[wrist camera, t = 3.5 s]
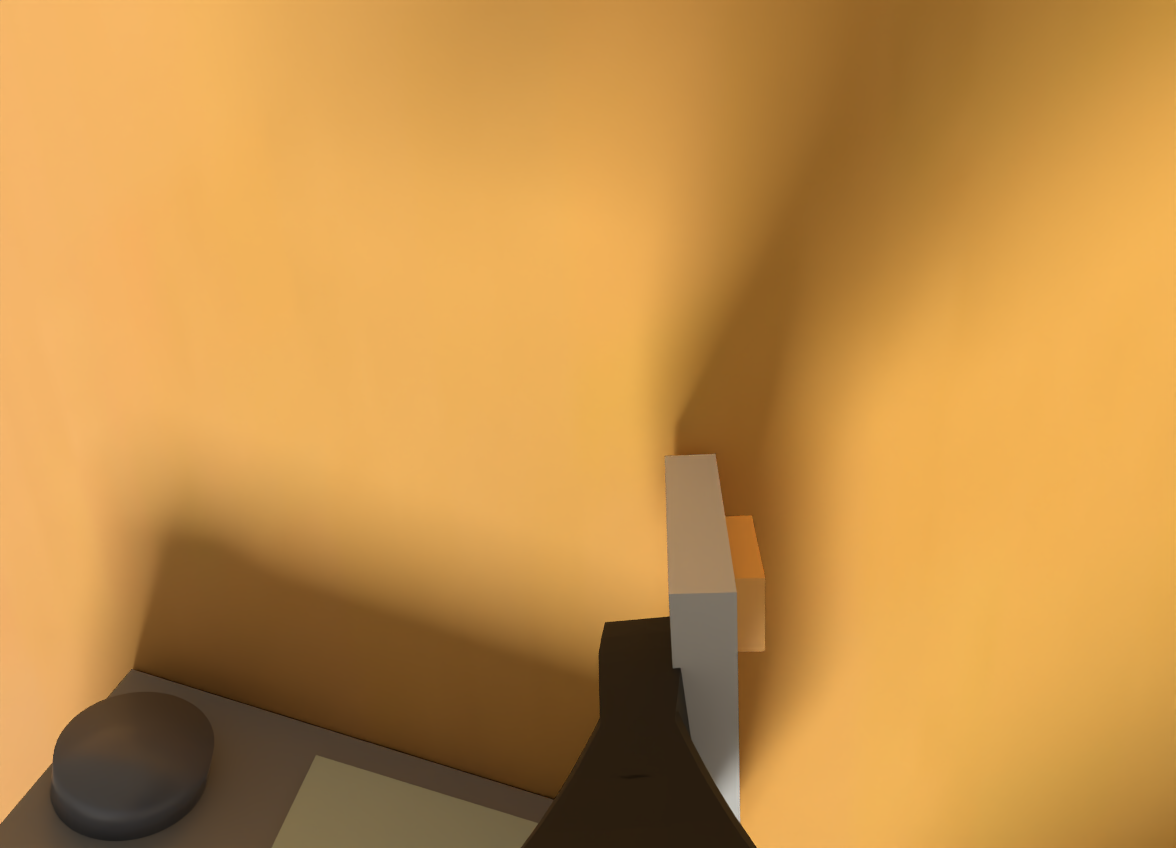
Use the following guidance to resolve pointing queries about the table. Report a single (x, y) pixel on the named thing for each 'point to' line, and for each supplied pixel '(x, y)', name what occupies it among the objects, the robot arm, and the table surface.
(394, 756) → the camera body
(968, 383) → the table surface
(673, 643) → the side door
